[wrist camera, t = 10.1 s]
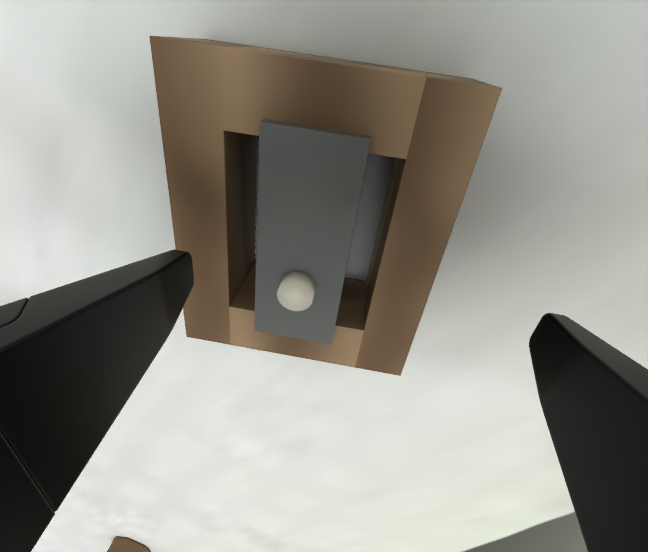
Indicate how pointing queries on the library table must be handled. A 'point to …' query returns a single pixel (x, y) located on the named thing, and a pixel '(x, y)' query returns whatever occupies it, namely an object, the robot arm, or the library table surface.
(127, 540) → the wooden block set
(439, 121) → the pocket plate
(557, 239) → the library table surface
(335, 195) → the block
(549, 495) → the library table surface
